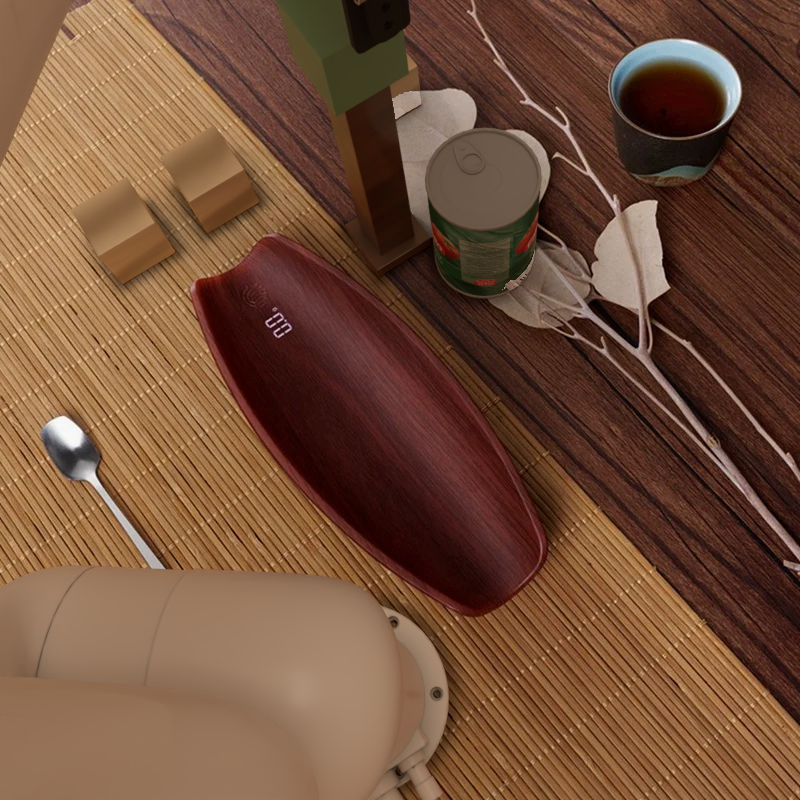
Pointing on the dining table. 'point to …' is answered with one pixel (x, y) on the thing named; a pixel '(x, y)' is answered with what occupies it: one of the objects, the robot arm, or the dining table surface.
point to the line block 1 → (122, 230)
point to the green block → (339, 54)
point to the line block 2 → (210, 178)
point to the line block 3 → (407, 80)
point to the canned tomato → (483, 209)
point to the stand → (377, 184)
